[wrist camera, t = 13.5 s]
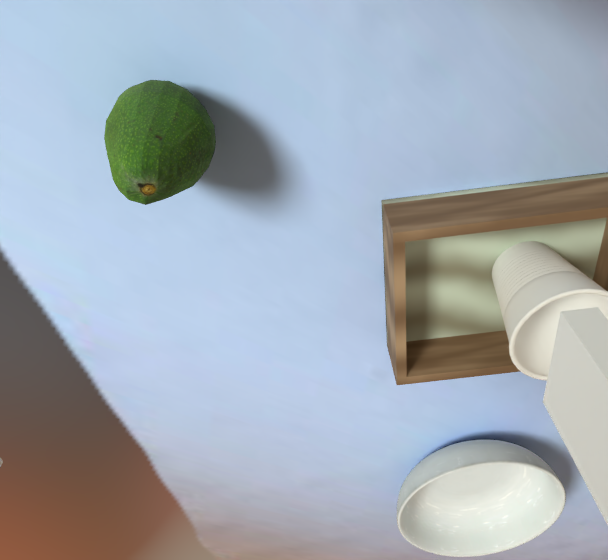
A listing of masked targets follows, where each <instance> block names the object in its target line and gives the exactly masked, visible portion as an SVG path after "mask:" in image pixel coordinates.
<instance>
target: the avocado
mask: <svg viewBox="0 0 608 560" xmlns="http://www.w3.org/2000/svg"><path fill="white" fill-rule="evenodd" d="M104 139H105V144H106V150H107V155H108V159H109V163H110V168H111V172H112V177H113V180H114V183H115V184H116V186H117V188H118V189H119V191H120V192H121V193H122V194H123V195H124V196H125V197H126V198H127V199H129V200H131V201H135V202H138V203H142V204H145V205H147V204H150V203H153V202H156V201H160V200H163V199H166V198H168V197H171V196H173V195H175V194H177V193H179V192H181V191H183V190H185V189H188V188H190V187H192V186H193V185H194V184H195V183H196V182H197V181H198V180H199V179H200V177H201V176H202V175H203V173H204V172H205V171H206V170H207V168H208V167H209V164H210V162H211V159H212V157H213V154H214V150H215V143H216V140H215V129H214V125H213V123H212V121H211V119H210V117H209V115H208V113H207V111H206V109H205V108H204V107H203V105H202V104H201V103H200V102H199V100H198V99H197V98H195V97H194V96H193V95H192V94H191V93H190V92H189V91H188V90H187V89H185V88H183V87H181V86H179V85H176V84H174V83H172V82H170V81H160V80H149V81H146V82H143V83H141V84H138V85H135V86H132V87H130V88H128V89H127V90H126V91H124V92H123V93H122V94H121V95H120V96H119V98H118V100H117V101H116V103H115V105H114V107H113V109H112V111H111V113H110V115H109V117H108V119H107V120H106V127H105V137H104Z"/></svg>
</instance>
